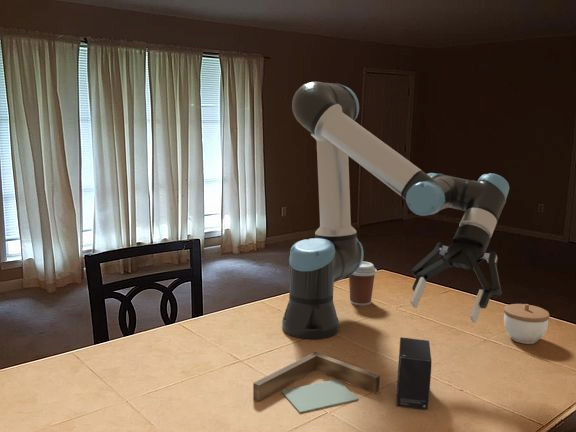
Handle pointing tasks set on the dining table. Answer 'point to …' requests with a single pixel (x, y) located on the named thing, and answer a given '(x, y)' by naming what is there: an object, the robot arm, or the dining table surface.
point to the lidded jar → (525, 322)
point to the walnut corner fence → (307, 367)
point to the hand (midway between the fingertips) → (441, 312)
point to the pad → (319, 395)
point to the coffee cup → (362, 284)
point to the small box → (413, 373)
